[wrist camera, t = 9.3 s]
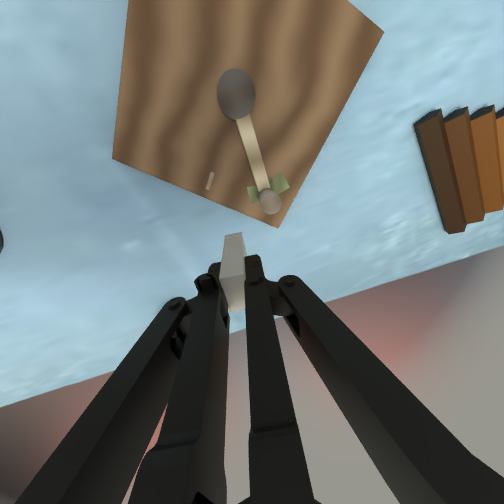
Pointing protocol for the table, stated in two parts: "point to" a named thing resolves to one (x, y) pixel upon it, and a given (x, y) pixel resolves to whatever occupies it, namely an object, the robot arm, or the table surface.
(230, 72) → the wooden handled spoon
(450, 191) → the pan flute
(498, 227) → the table surface
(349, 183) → the table surface
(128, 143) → the brown wooden flat board
